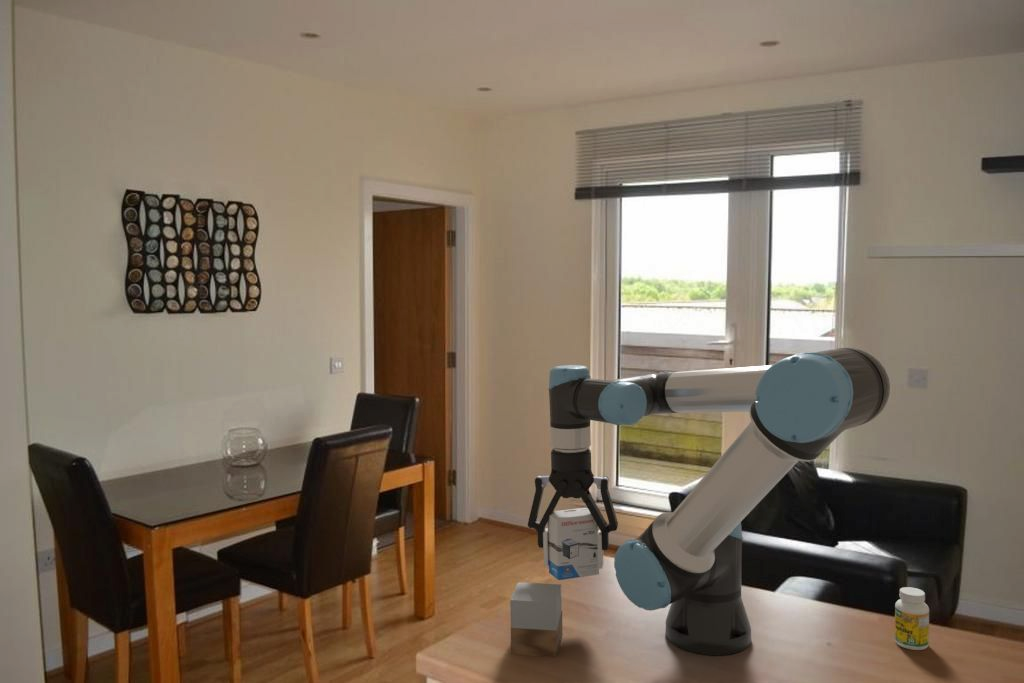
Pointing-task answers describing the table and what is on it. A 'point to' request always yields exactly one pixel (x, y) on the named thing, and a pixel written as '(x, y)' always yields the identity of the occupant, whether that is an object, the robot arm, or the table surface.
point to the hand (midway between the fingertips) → (573, 565)
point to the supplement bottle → (912, 619)
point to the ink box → (572, 544)
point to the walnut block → (536, 641)
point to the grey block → (536, 606)
